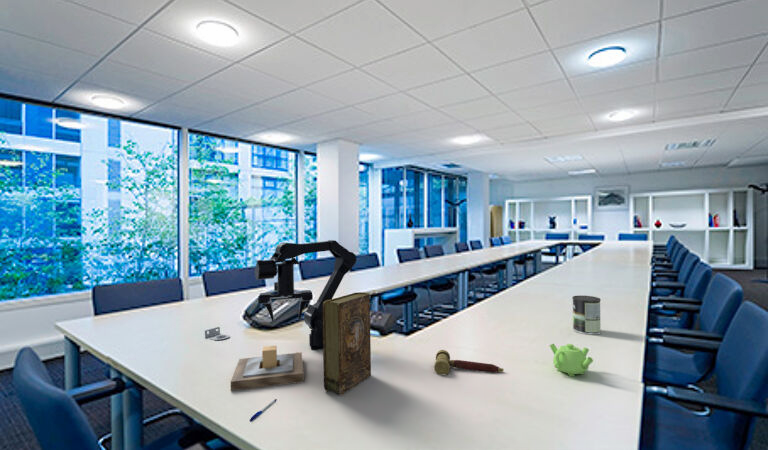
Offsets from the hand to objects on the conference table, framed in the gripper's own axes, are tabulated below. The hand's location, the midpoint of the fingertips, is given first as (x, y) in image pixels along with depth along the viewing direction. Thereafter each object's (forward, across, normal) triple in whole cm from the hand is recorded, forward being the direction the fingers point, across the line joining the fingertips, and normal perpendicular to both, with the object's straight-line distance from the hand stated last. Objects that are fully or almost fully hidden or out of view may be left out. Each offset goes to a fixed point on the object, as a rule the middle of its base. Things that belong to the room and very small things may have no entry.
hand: (286, 320), depth 129 cm
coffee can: (+12, -122, +11) cm, 123 cm away
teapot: (+12, -85, +43) cm, 96 cm away
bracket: (+13, +28, -29) cm, 42 cm away
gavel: (+13, -56, +32) cm, 66 cm away
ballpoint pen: (+12, +5, +40) cm, 42 cm away
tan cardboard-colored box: (+12, +5, +17) cm, 21 cm away
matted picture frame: (+12, +5, +17) cm, 21 cm away
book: (+12, -18, +31) cm, 38 cm away
